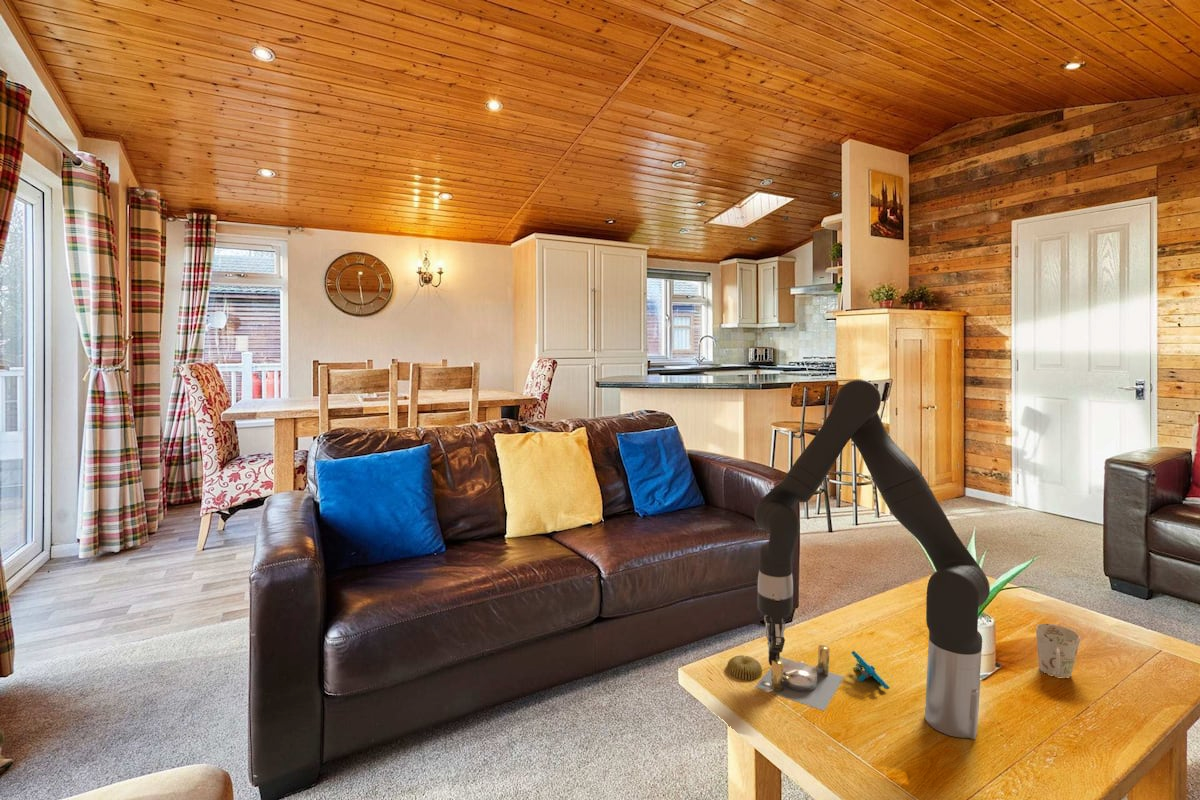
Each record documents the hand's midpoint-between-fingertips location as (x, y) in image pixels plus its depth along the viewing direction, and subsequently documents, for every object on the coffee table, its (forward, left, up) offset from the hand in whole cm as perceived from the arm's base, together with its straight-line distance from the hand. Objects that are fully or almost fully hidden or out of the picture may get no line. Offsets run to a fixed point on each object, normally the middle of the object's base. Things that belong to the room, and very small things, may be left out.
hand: (773, 664), depth 136 cm
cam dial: (-5, -4, -4) cm, 7 cm away
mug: (-52, -44, -6) cm, 68 cm away
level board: (-5, -4, -6) cm, 8 cm away
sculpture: (+7, -1, -6) cm, 9 cm away
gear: (-17, -14, -6) cm, 23 cm away
